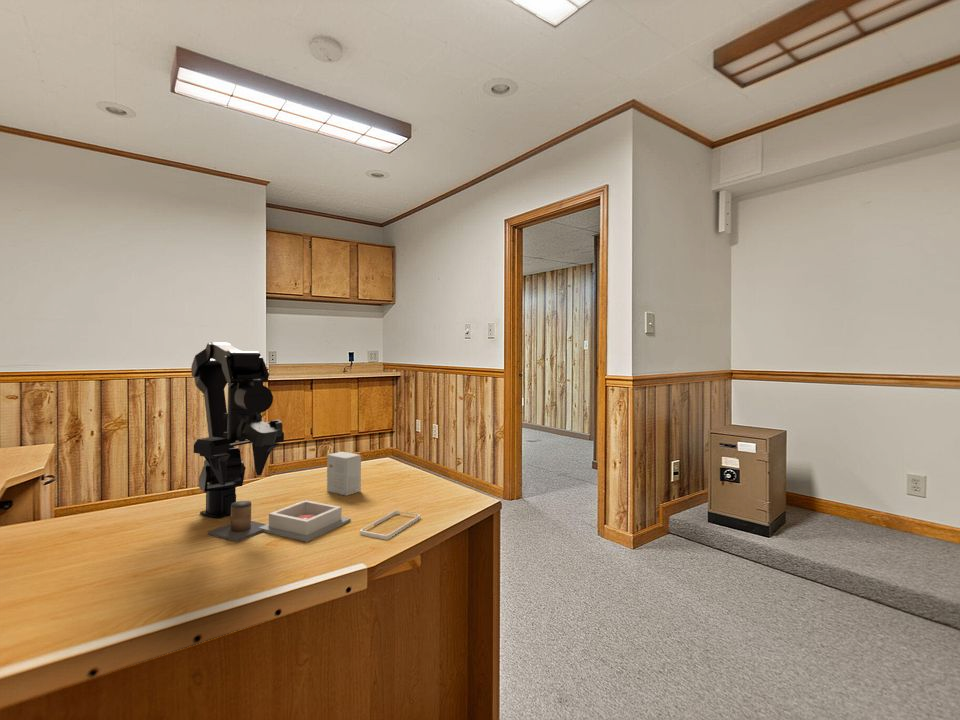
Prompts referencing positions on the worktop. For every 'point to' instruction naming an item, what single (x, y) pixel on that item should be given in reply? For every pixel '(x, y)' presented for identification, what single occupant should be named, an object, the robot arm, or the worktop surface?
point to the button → (306, 516)
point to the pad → (236, 536)
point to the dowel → (240, 516)
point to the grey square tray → (302, 529)
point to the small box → (343, 473)
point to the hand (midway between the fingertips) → (241, 479)
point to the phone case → (391, 532)
